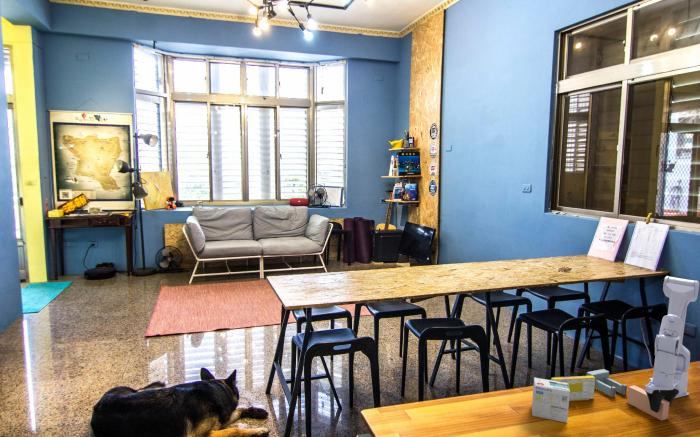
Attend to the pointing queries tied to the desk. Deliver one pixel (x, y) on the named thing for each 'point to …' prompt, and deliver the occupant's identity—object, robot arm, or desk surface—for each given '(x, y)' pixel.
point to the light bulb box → (550, 399)
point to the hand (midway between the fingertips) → (659, 409)
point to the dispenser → (607, 383)
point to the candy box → (579, 387)
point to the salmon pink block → (646, 402)
